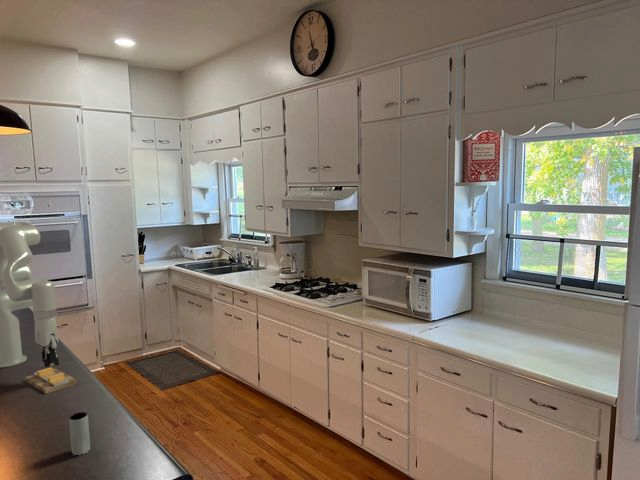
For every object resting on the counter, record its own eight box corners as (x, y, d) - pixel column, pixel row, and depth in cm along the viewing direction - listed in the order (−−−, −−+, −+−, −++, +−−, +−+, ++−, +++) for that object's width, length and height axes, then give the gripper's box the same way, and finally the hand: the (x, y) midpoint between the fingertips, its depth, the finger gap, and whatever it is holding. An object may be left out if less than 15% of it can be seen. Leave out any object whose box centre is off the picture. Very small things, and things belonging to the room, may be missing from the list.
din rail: (33, 374, 182) (33, 372, 182) (47, 370, 186) (47, 368, 186) (54, 386, 170) (54, 384, 170) (68, 382, 174) (68, 380, 174)
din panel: (25, 381, 180) (25, 377, 179) (56, 372, 188) (55, 368, 188) (45, 393, 168) (45, 389, 167) (77, 383, 176) (76, 379, 176)
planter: (76, 447, 131) (73, 412, 130) (92, 446, 132) (90, 411, 130) (69, 456, 127) (65, 420, 126) (86, 455, 127) (83, 419, 126)
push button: (39, 369, 173) (37, 343, 172) (39, 365, 178) (37, 339, 177) (60, 365, 177) (57, 340, 176) (59, 361, 181) (57, 336, 180)
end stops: (37, 374, 179) (36, 371, 179) (51, 370, 183) (50, 367, 183) (50, 382, 172) (49, 378, 172) (64, 378, 176) (64, 374, 176)
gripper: (25, 313, 177) (30, 360, 179) (43, 319, 167) (47, 369, 169) (47, 309, 183) (51, 354, 185) (65, 315, 173) (69, 363, 175)
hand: (49, 361), depth 177 cm, fingers closed on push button, 3 cm apart
